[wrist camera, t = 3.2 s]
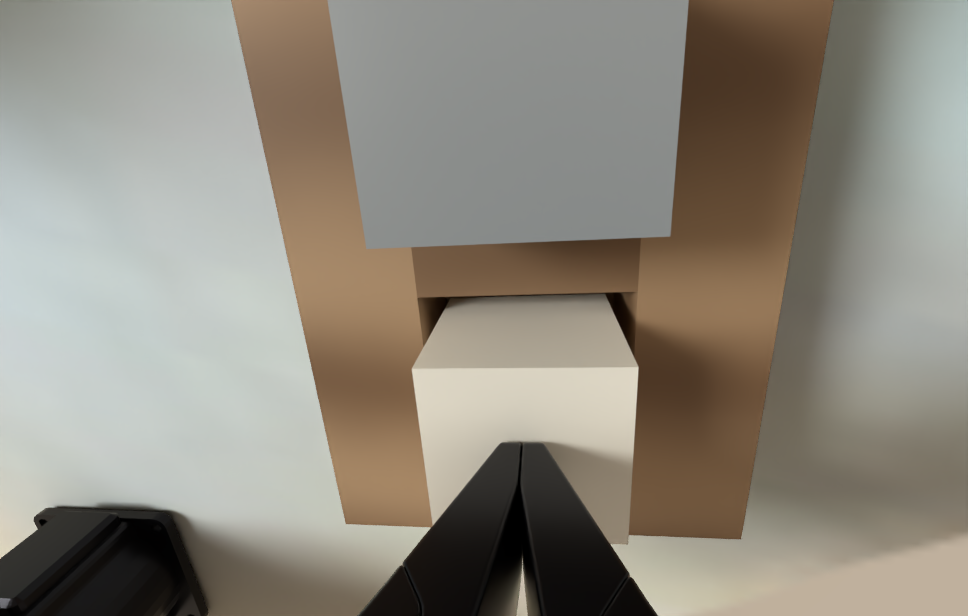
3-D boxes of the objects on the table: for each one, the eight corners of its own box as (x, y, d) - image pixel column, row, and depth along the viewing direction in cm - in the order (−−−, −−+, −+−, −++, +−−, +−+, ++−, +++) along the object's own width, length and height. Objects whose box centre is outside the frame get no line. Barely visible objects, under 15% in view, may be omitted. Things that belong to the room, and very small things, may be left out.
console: (691, 444, 16) (740, 539, 12) (387, 439, 17) (345, 524, 13) (805, -567, 8) (1036, -1174, 4) (245, -428, 9) (55, -801, 6)
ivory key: (601, 426, 13) (628, 543, 9) (463, 425, 13) (434, 536, 9) (604, 293, 11) (638, 367, 8) (450, 297, 12) (411, 368, 8)
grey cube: (616, 199, 9) (670, 235, 6) (430, 208, 10) (366, 249, 6) (625, -29, 8) (701, -178, 4) (408, -5, 8) (308, -119, 5)
